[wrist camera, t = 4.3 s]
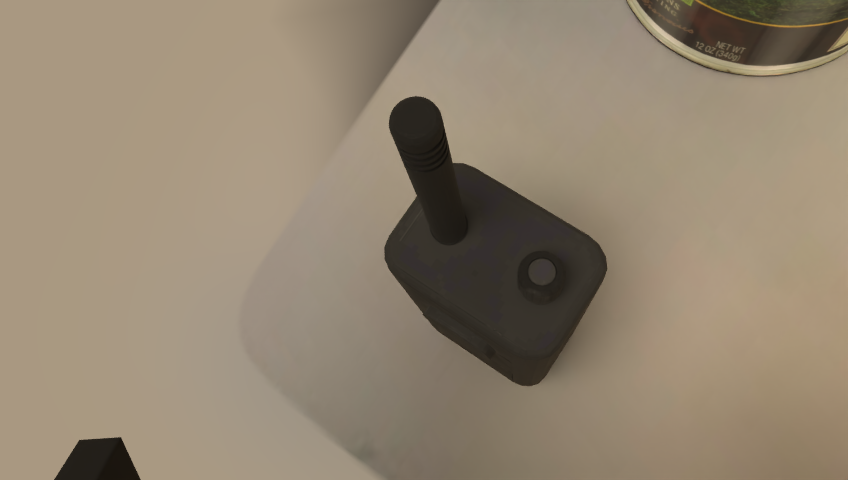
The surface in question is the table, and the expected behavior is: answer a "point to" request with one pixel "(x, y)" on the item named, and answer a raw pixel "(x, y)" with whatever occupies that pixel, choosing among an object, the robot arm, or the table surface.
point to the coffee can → (749, 32)
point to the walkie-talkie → (486, 256)
